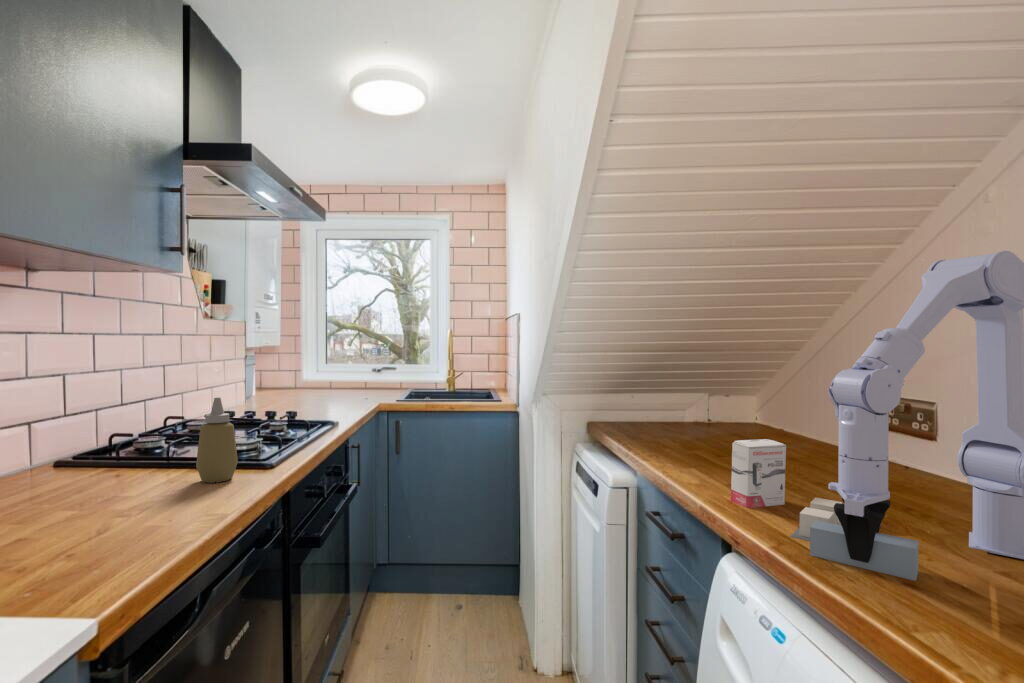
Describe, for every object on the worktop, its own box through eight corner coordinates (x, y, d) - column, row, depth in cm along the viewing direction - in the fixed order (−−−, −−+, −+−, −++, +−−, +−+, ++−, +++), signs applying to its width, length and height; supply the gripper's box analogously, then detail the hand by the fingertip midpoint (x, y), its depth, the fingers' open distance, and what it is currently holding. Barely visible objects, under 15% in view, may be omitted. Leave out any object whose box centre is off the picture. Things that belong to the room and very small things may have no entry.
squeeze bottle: (201, 476, 118) (201, 396, 118) (241, 474, 120) (241, 395, 120) (191, 486, 110) (191, 400, 110) (234, 483, 113) (234, 399, 113)
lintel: (815, 550, 78) (816, 520, 78) (918, 574, 70) (918, 540, 70) (809, 558, 75) (810, 527, 75) (915, 584, 67) (916, 549, 67)
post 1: (842, 523, 88) (842, 502, 88) (837, 529, 85) (837, 507, 85) (815, 517, 91) (815, 497, 91) (809, 523, 88) (810, 502, 88)
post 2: (834, 534, 83) (834, 512, 83) (828, 541, 80) (828, 518, 80) (805, 528, 86) (805, 507, 86) (799, 535, 83) (799, 513, 83)
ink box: (748, 511, 96) (748, 445, 96) (729, 502, 100) (730, 440, 100) (787, 506, 98) (787, 443, 98) (767, 499, 103) (767, 438, 103)
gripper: (839, 444, 81) (838, 533, 81) (818, 460, 70) (817, 563, 70) (896, 451, 76) (895, 545, 76) (883, 469, 65) (882, 579, 65)
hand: (862, 555), depth 72 cm, fingers closed on lintel, 4 cm apart
